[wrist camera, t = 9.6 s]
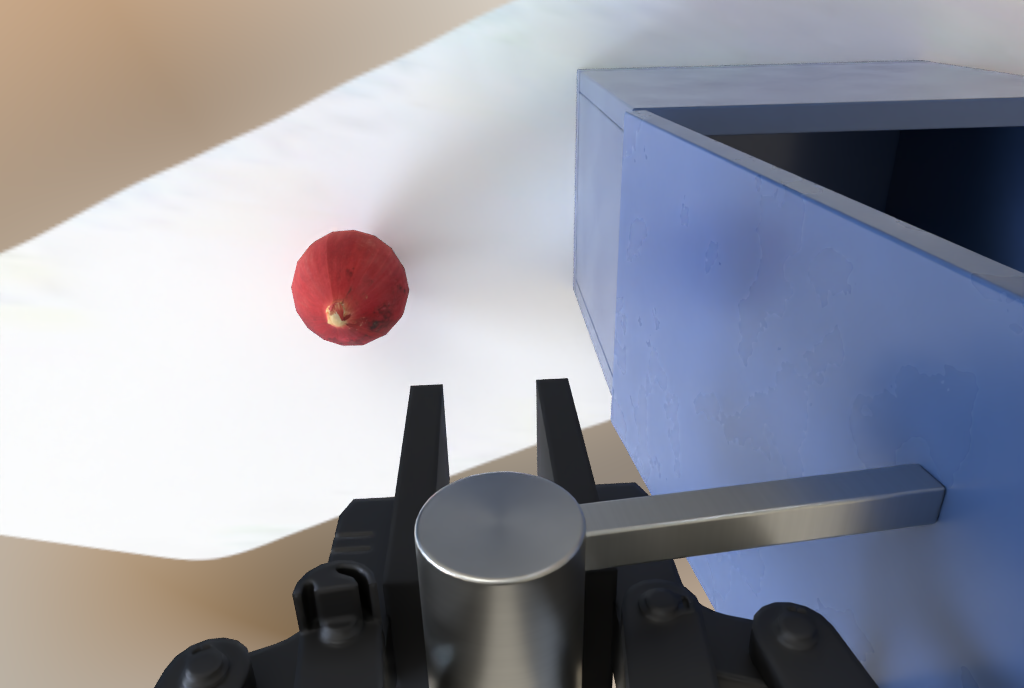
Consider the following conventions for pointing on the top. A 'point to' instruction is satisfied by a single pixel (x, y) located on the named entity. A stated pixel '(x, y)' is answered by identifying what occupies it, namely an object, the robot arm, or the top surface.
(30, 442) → the top surface
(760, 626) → the robot arm
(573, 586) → the box lid
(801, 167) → the blue box
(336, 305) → the pomegranate
